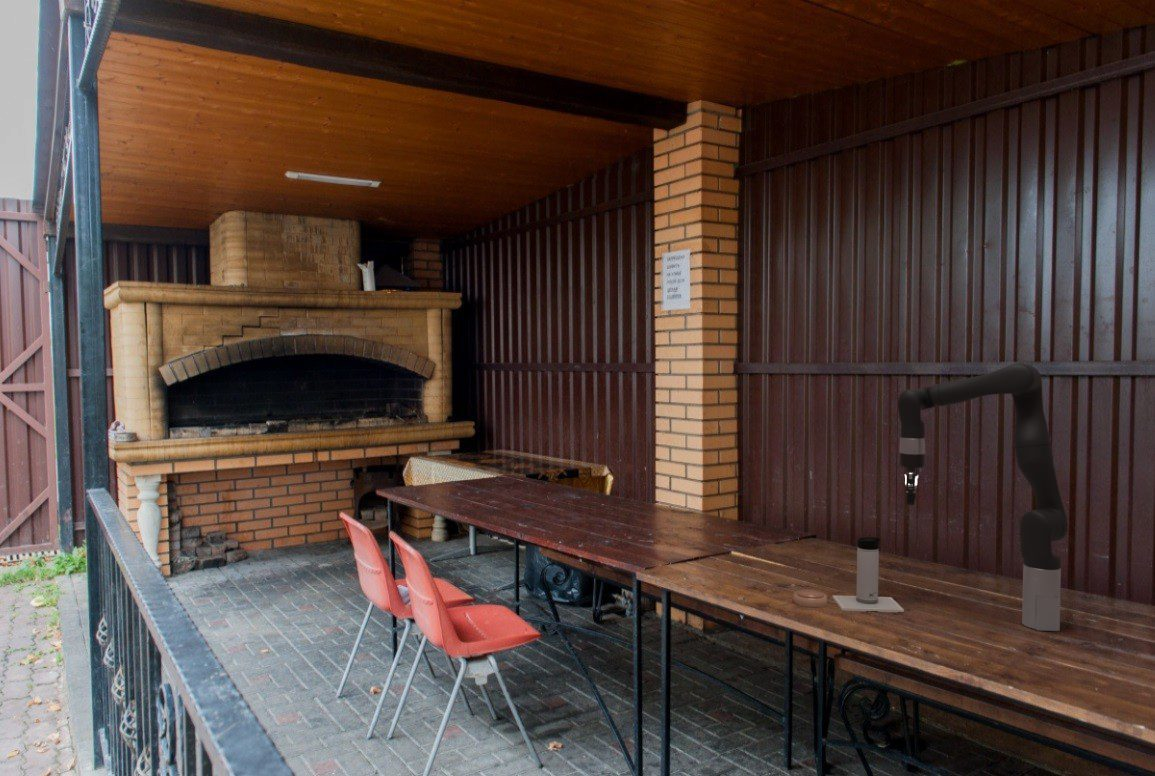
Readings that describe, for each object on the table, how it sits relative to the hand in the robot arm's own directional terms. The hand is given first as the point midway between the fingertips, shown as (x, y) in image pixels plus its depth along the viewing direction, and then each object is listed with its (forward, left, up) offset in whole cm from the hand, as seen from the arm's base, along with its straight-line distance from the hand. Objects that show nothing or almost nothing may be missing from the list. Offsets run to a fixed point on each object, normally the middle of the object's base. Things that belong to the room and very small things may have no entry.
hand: (911, 502), depth 256 cm
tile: (-11, +16, -30) cm, 36 cm away
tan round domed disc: (-10, +33, -30) cm, 46 cm away
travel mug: (-10, +16, -29) cm, 35 cm away
